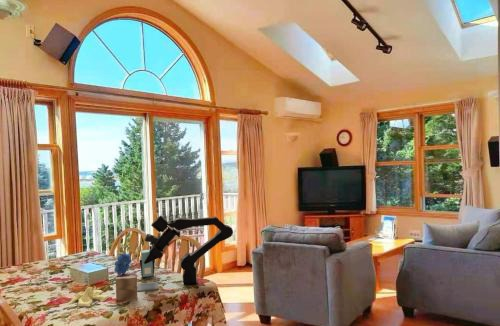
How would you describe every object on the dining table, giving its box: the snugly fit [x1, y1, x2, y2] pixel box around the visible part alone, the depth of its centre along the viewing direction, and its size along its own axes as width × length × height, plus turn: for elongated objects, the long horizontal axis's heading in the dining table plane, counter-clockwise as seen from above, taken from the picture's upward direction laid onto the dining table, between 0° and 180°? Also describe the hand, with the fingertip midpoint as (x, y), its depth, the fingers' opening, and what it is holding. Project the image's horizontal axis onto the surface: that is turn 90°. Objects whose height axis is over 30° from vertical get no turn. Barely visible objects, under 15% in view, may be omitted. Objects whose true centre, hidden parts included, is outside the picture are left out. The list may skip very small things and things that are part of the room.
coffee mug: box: [138, 257, 156, 279], centre depth 218 cm, size 12×9×10 cm
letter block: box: [141, 249, 154, 277], centre depth 196 cm, size 5×5×12 cm
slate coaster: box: [137, 282, 159, 293], centre depth 196 cm, size 10×10×1 cm
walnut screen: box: [115, 275, 138, 302], centre depth 181 cm, size 9×2×10 cm, turn 95°
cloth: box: [66, 286, 111, 307], centre depth 182 cm, size 22×19×6 cm
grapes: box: [114, 252, 132, 276], centre depth 222 cm, size 12×7×12 cm, turn 149°
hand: (144, 262), depth 196 cm, fingers closed on letter block, 5 cm apart
